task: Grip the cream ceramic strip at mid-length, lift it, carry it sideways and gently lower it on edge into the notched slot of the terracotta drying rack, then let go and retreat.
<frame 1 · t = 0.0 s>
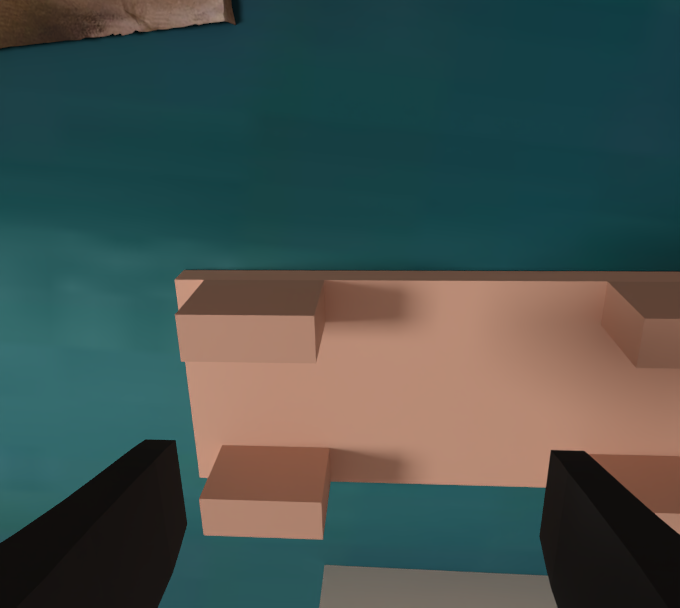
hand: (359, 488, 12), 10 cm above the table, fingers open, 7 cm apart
rack: (454, 376, 22), on the table
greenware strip: (511, 602, 26), on the table
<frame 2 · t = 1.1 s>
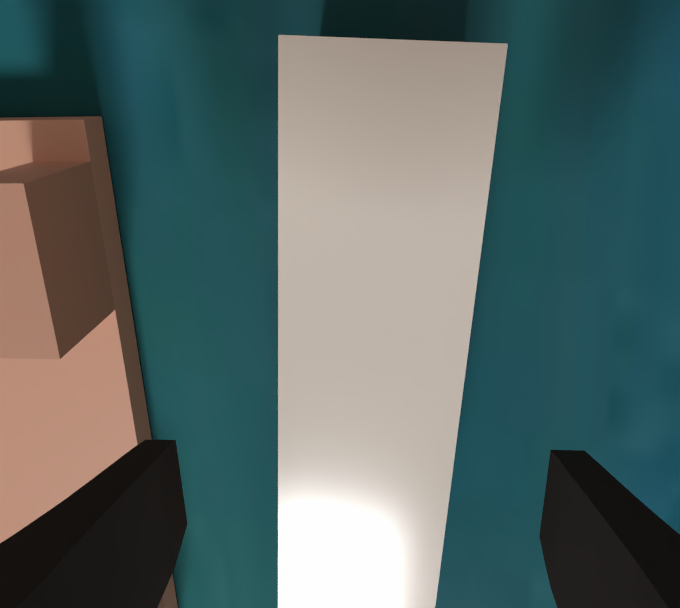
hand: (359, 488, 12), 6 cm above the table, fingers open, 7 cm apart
rack: (29, 426, 20), on the table
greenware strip: (372, 344, 18), on the table
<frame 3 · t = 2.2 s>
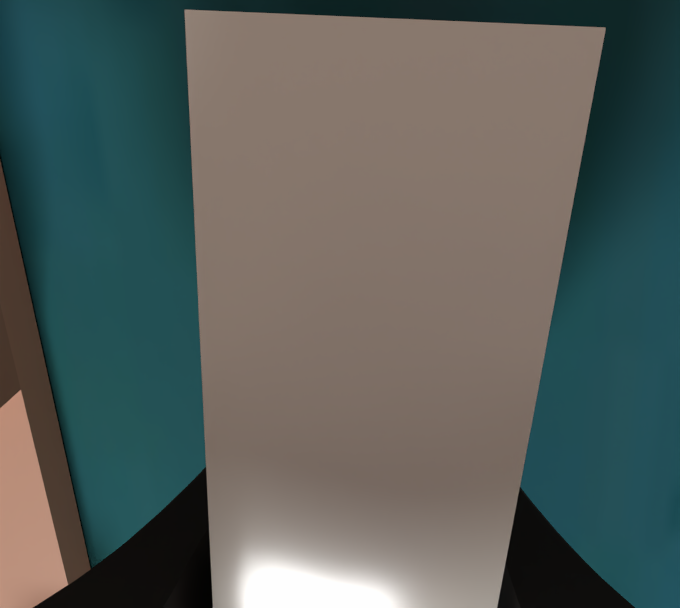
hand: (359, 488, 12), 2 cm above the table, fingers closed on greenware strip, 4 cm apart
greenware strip: (362, 430, 14), on the table, touching gripper
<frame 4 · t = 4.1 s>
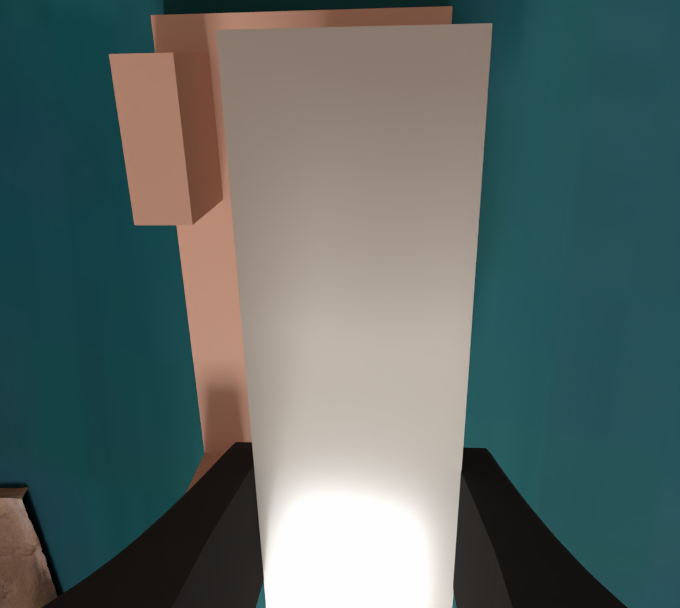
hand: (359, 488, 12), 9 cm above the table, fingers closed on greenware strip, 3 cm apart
rack: (315, 326, 20), on the table
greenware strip: (367, 365, 16), point 4 cm above the table, touching gripper
when the fingers open (4 cm above the table, at t = 5.6 s): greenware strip stays where it is, resting on rack.
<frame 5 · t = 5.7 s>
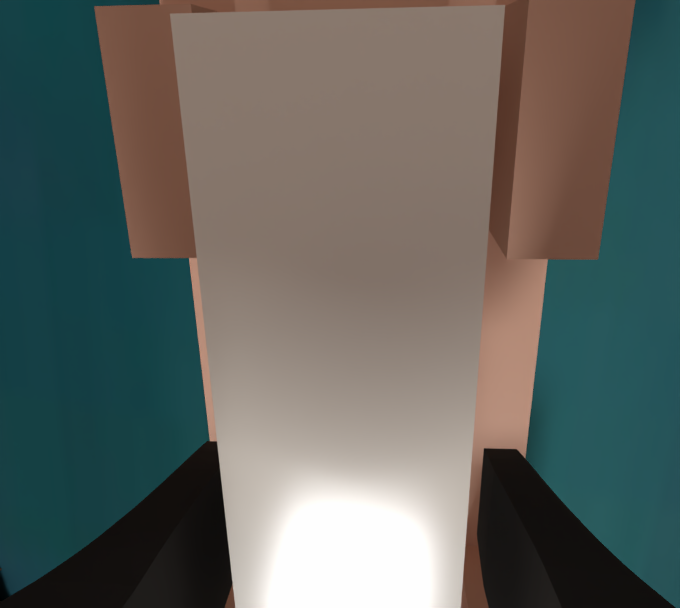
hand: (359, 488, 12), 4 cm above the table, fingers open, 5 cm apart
rack: (366, 377, 16), on the table
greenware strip: (360, 392, 15), point 1 cm above the table, touching rack
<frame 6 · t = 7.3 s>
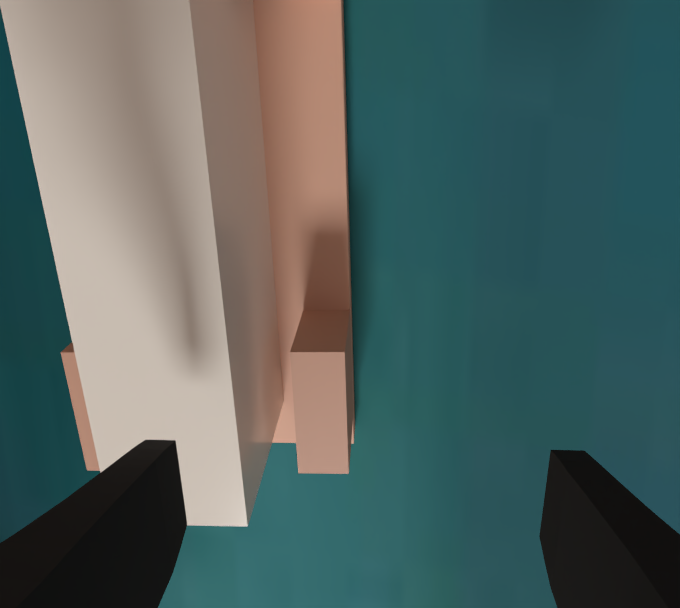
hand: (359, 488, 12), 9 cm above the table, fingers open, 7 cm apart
rack: (218, 164, 19), on the table
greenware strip: (206, 164, 18), point 1 cm above the table, touching rack
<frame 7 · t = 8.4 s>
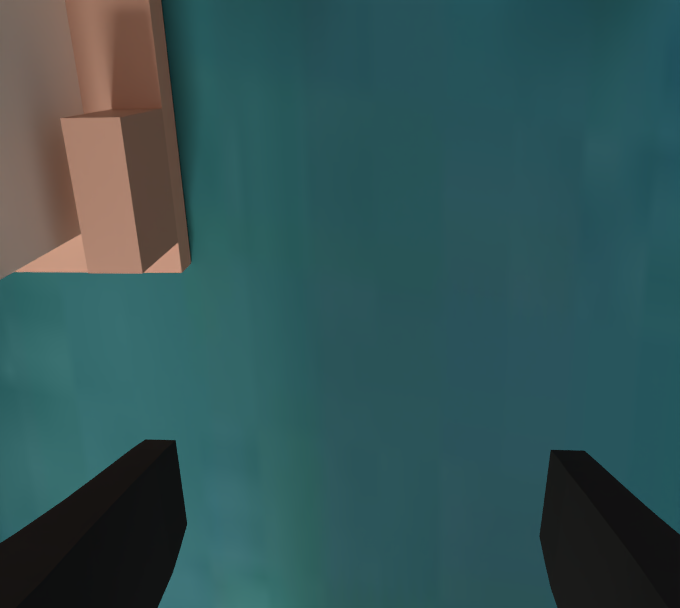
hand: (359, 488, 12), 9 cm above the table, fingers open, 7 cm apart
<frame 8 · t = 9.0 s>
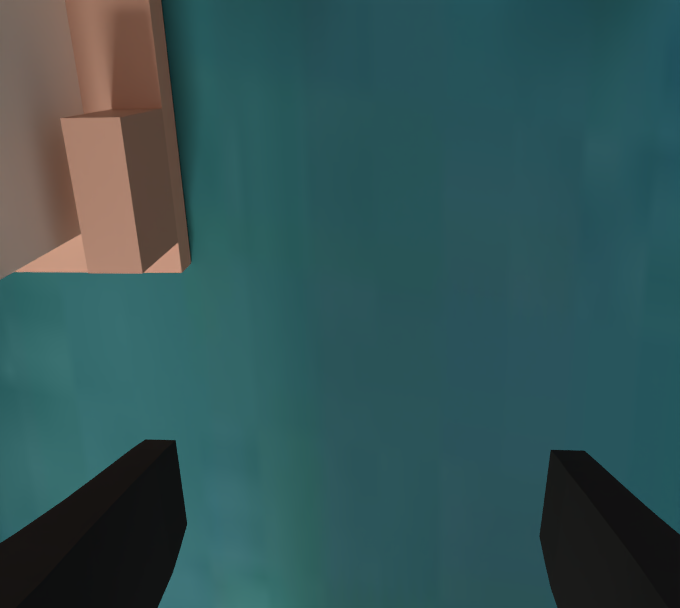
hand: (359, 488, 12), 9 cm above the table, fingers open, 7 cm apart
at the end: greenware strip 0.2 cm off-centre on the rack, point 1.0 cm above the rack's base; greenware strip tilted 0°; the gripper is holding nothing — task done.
